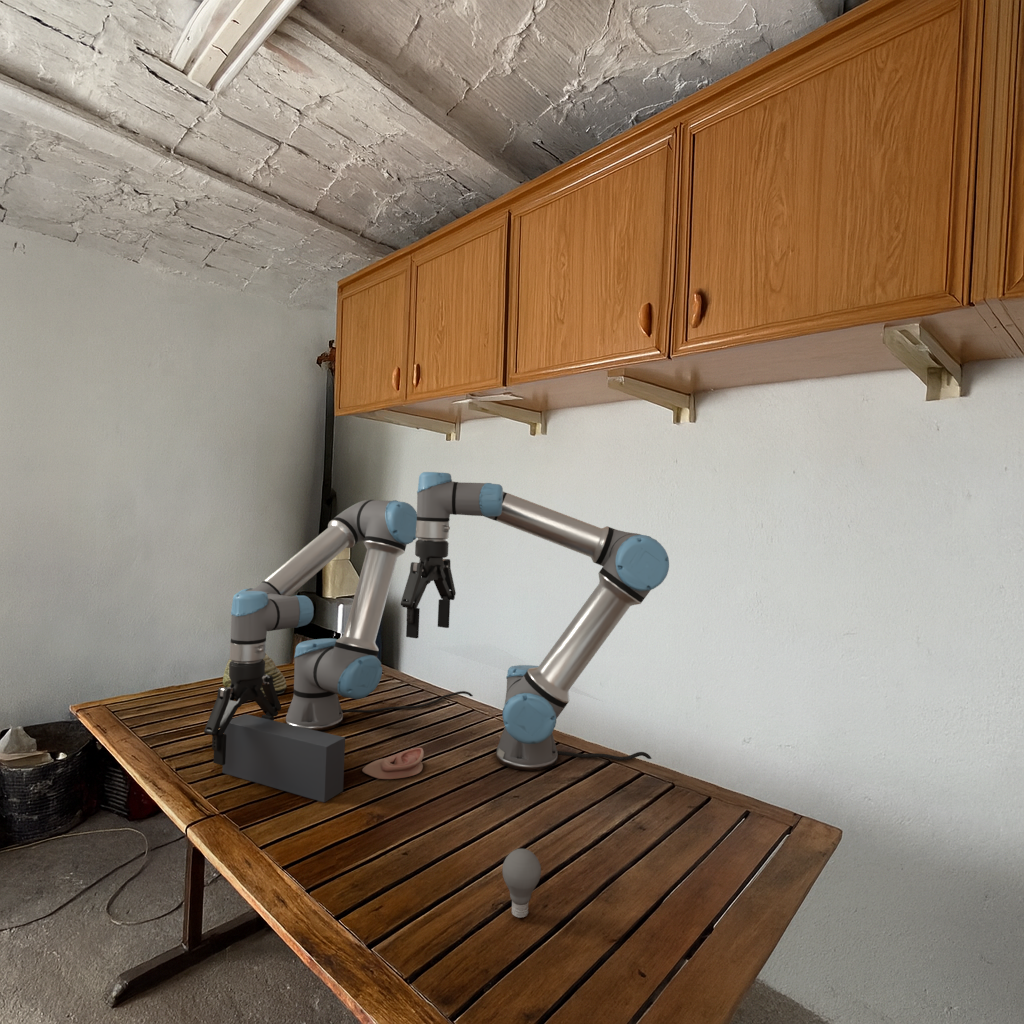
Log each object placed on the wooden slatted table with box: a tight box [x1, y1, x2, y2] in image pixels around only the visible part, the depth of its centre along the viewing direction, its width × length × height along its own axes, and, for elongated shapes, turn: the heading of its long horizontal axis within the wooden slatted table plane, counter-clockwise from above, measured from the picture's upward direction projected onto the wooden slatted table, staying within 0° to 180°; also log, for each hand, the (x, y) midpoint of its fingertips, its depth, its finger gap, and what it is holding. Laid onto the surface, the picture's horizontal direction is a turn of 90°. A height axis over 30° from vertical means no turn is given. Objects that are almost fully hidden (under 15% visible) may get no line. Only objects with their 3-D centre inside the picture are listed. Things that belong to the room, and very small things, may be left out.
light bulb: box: [502, 848, 542, 919], centre depth 98 cm, size 6×6×10 cm
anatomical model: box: [361, 747, 425, 780], centre depth 148 cm, size 13×4×12 cm
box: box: [221, 713, 346, 803], centre depth 140 cm, size 29×6×12 cm, turn 66°
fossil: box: [222, 652, 288, 697], centre depth 198 cm, size 9×18×15 cm, turn 132°
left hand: (243, 753), depth 144 cm, fingers open, 13 cm apart
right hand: (428, 632), depth 145 cm, fingers open, 13 cm apart
